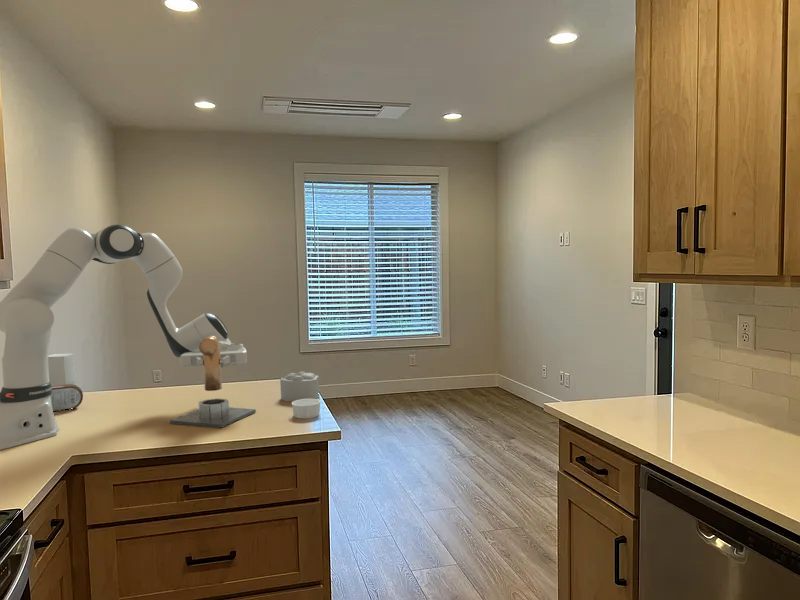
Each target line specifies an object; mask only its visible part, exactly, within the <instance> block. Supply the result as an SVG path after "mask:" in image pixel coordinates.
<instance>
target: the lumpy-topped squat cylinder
mask: <svg viewBox="0 0 800 600" xmlns="http://www.w3.org/2000/svg"><path fill="white" fill-rule="evenodd" d="M318 393H319V394H318ZM319 397H320V377H319V375H316V374H315V373H313V372H306V371H299V372H297V373H295V372H291V373H288V374H287V375H286V376H285V375H284V376H283V377H281V378H280V400H281V399H282V400H281V401H284V400H285V401H284V402H289V401H292V402H293V401H296V400H300V399H318V400H319ZM292 402H291V403H292Z"/></svg>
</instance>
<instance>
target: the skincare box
mask: <svg viewBox="0 0 800 600" xmlns="http://www.w3.org/2000/svg"><path fill="white" fill-rule="evenodd" d="M75 362H76V361H75V353H53V354H50V355H49V354H48V368H49V381H50V382H51V386H58V385H67V384H73V385H76V386H78V385H77V375H76V364H75Z"/></svg>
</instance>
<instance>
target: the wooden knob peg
mask: <svg viewBox="0 0 800 600" xmlns="http://www.w3.org/2000/svg"><path fill="white" fill-rule="evenodd" d="M199 349H200V350H199V351H200V352H201V353H202V354H203V365H202V366H203V379H204V385H203V386H204V391H207V392H210V391H211V392H213V391H214V392H215V391H219V390H222V389H223V386H222V385H223V384H222V368H221V364H220V362H221V361H220V342H219V340H218V338H217V337H215V336H208V337H206V338H205V339H204V340H203V341H202V342H201V343H200V345H199Z"/></svg>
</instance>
